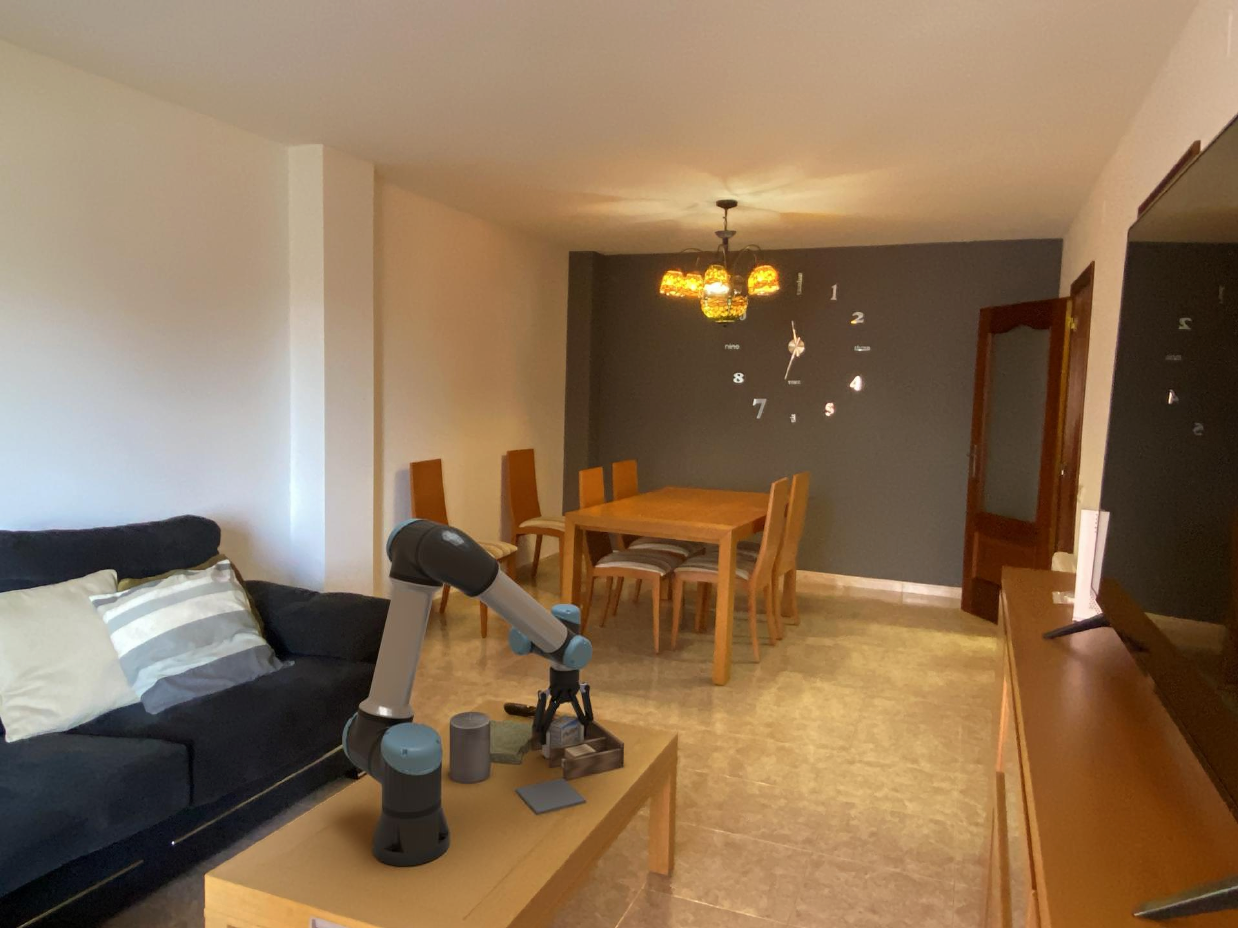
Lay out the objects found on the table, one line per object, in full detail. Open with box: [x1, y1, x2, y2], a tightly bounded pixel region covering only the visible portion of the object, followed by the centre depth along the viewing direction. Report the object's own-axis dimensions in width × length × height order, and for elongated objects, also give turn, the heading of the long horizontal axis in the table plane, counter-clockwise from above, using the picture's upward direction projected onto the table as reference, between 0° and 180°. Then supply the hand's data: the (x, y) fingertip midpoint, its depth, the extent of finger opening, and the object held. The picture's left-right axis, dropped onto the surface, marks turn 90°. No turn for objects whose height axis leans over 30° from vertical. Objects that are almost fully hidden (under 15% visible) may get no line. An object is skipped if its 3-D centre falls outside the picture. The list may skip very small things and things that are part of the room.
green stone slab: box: [490, 719, 533, 765], centre depth 216 cm, size 19×20×4 cm
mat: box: [515, 777, 587, 816], centre depth 190 cm, size 12×12×1 cm
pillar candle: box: [448, 711, 491, 784], centre depth 199 cm, size 10×10×15 cm
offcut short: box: [565, 744, 596, 760], centre depth 205 cm, size 6×5×2 cm
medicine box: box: [548, 714, 579, 748], centre depth 212 cm, size 8×4×9 cm, turn 149°
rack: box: [530, 720, 625, 781], centre depth 210 cm, size 16×20×6 cm
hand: (562, 752), depth 213 cm, fingers closed on medicine box, 9 cm apart
